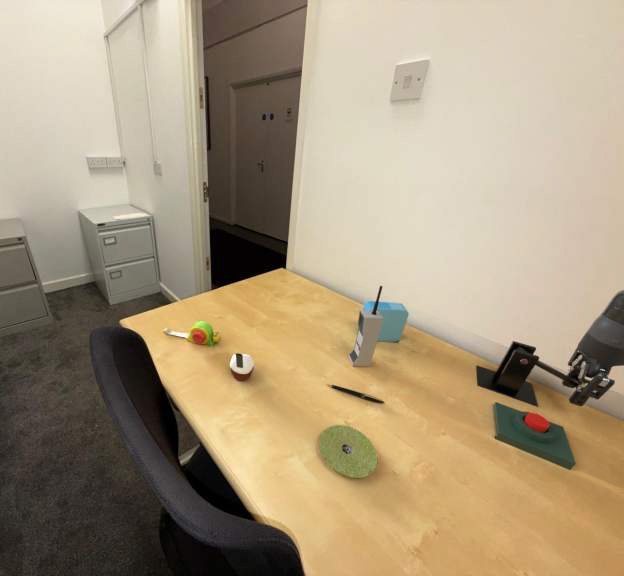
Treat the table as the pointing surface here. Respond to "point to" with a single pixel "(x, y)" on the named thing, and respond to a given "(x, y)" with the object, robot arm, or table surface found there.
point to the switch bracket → (511, 374)
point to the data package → (390, 319)
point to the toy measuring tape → (198, 334)
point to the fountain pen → (357, 394)
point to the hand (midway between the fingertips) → (571, 394)
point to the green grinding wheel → (348, 451)
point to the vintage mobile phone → (367, 335)
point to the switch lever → (554, 371)
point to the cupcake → (241, 366)
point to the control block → (532, 436)
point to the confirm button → (536, 422)
